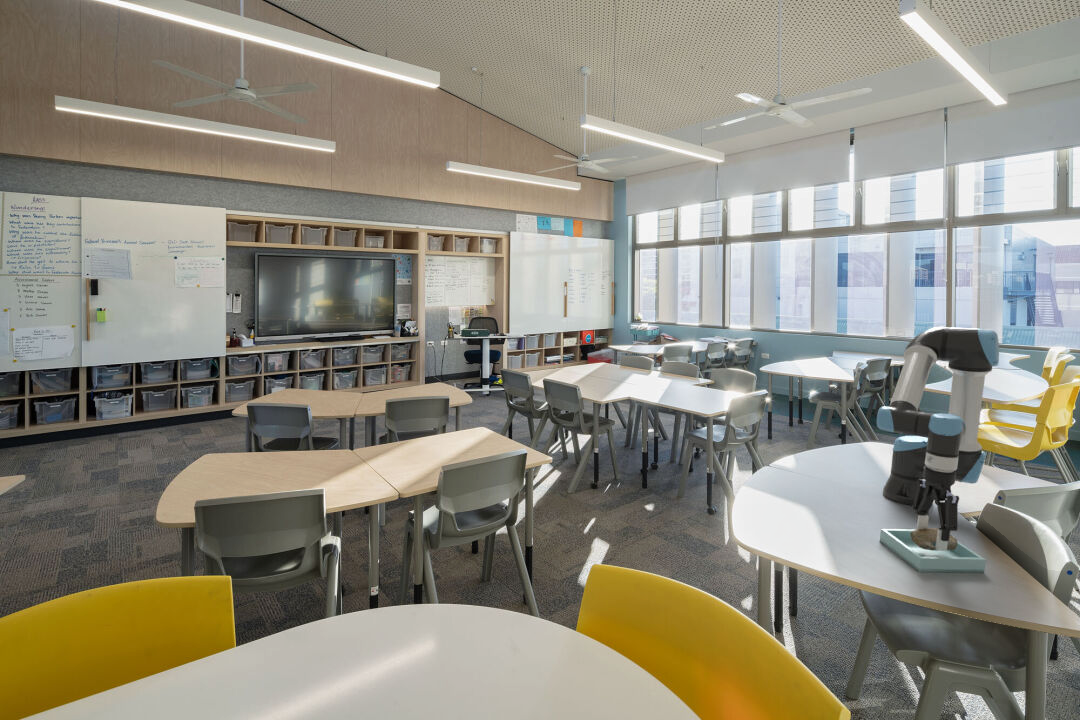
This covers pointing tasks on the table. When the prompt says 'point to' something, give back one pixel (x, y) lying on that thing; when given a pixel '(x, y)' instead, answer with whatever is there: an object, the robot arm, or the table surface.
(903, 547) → the tray
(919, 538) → the rock
